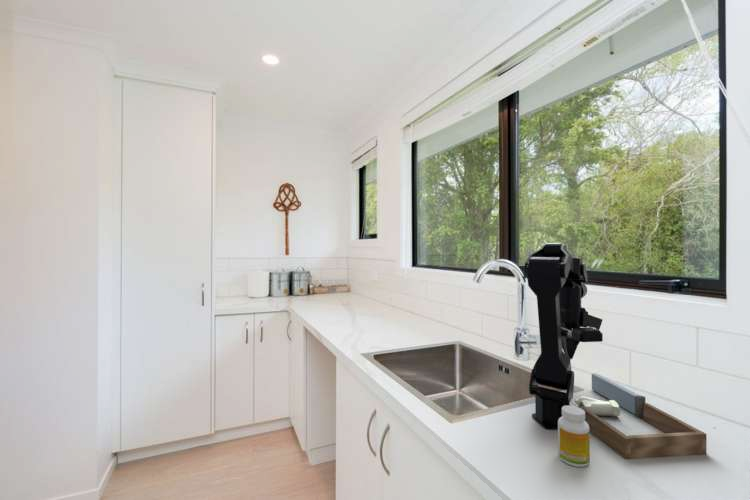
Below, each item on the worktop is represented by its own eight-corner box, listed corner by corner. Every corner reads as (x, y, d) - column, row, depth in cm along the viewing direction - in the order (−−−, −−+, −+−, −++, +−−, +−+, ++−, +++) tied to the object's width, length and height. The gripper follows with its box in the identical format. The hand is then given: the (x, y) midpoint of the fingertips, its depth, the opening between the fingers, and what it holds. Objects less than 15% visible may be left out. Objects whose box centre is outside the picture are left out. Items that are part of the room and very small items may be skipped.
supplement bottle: (594, 469, 65) (594, 417, 65) (563, 466, 66) (562, 415, 66) (583, 452, 71) (583, 404, 70) (554, 449, 72) (554, 402, 71)
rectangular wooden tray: (625, 459, 68) (625, 433, 68) (573, 419, 84) (573, 398, 84) (707, 453, 70) (707, 428, 70) (641, 415, 85) (641, 395, 85)
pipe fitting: (571, 408, 91) (585, 418, 84) (571, 392, 91) (584, 402, 85) (604, 408, 90) (620, 419, 84) (603, 393, 91) (619, 402, 84)
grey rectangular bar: (591, 389, 100) (591, 373, 100) (596, 389, 100) (596, 373, 100) (634, 414, 85) (634, 396, 85) (640, 414, 86) (640, 395, 85)
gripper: (622, 308, 90) (622, 369, 90) (575, 297, 108) (575, 348, 109) (581, 309, 89) (581, 371, 89) (540, 298, 107) (540, 349, 108)
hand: (569, 358), depth 99 cm, fingers closed
